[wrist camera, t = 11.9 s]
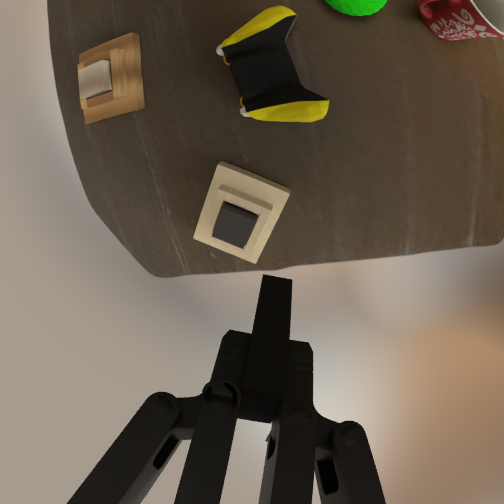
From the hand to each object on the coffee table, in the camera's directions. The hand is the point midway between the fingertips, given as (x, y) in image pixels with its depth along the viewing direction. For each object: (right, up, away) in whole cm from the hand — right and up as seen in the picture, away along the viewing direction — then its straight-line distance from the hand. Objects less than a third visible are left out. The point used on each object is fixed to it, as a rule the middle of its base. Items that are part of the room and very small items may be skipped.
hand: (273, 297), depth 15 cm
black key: (-3, +6, +22) cm, 23 cm away
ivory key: (-22, +26, +13) cm, 36 cm away
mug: (+23, +34, +5) cm, 41 cm away
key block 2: (-3, +8, +25) cm, 26 cm away
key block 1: (-21, +28, +16) cm, 38 cm away
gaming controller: (+2, +25, +14) cm, 29 cm away
